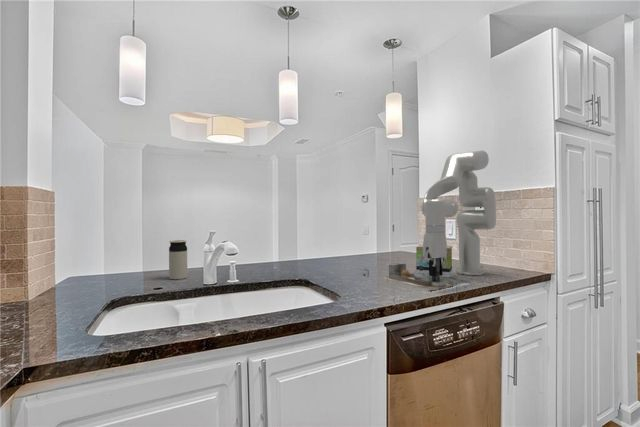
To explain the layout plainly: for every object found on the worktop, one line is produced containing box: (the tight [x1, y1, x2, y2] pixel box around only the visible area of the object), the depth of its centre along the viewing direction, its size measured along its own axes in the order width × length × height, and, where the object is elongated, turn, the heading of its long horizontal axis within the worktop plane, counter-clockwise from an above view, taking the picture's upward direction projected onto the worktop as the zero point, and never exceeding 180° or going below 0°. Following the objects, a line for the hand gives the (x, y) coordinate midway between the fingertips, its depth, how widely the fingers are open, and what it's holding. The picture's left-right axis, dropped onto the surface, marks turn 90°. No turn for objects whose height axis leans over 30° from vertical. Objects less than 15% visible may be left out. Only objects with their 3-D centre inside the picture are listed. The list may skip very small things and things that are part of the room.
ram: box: [414, 258, 449, 288], centre depth 131 cm, size 7×12×12 cm, turn 34°
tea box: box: [415, 244, 453, 278], centre depth 152 cm, size 15×10×15 cm
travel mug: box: [168, 239, 188, 280], centre depth 153 cm, size 8×8×18 cm
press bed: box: [383, 262, 454, 293], centre depth 137 cm, size 14×26×7 cm, turn 34°
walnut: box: [401, 269, 410, 278], centre depth 142 cm, size 4×4×4 cm
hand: (435, 275), depth 129 cm, fingers closed on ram, 3 cm apart
